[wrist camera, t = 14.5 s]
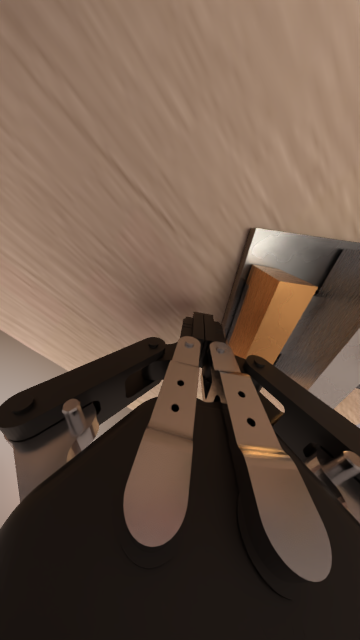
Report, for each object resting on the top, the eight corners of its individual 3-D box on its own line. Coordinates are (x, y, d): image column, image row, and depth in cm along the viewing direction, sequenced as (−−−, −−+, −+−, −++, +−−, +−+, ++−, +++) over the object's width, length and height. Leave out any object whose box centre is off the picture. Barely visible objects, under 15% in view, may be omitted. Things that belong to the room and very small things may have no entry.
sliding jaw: (218, 363, 18) (224, 404, 14) (261, 236, 12) (299, 239, 7) (297, 376, 18) (328, 423, 13) (386, 254, 11) (502, 268, 7)
